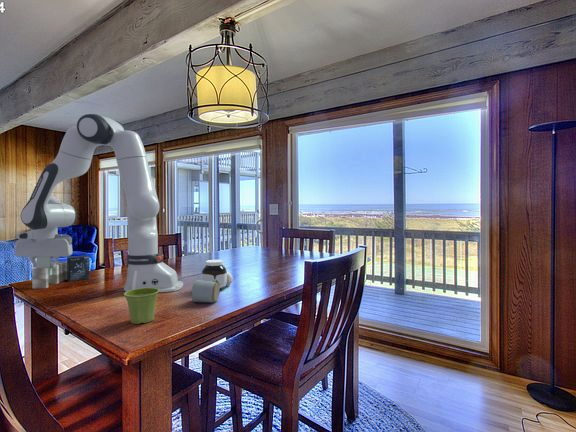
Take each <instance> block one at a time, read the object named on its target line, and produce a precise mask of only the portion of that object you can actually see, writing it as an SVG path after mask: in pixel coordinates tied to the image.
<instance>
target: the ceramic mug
mask: <svg viewBox="0 0 576 432" xmlns="http://www.w3.org/2000/svg"><path fill="white" fill-rule="evenodd" d="M220 292H221V291H220V287H219V284H218V283H216V282H212V281H203V280H201V279H196V280H195V281H194V282H193V284H192V288H191V300H192V302H194V303H206V304H207V303H209V304H212V303H216V302H217V301H218V299H219V298H220V297H219V296H220Z"/></svg>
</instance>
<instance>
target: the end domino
mask: <svg viewBox="0 0 576 432" xmlns="http://www.w3.org/2000/svg"><path fill="white" fill-rule="evenodd" d="M56 263H64V281H65V280H67V261H57V262H56ZM67 281H68V280H67Z"/></svg>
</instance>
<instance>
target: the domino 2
mask: <svg viewBox="0 0 576 432" xmlns="http://www.w3.org/2000/svg"><path fill="white" fill-rule="evenodd" d="M31 275H32V276H31V282H32V285H31V286H32V289H36V290H37V289H47V288H49V284H48V268H31Z"/></svg>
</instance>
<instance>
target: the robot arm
mask: <svg viewBox="0 0 576 432" xmlns="http://www.w3.org/2000/svg"><path fill="white" fill-rule="evenodd" d="M61 140H62V141H61V144H60V147H59V150H58V153H57V155H56V157H55V158H54V159H53V161H52V162H51V163H49V164H46V165H45V167H44V168H43V170H42V171H41V174H40V175H39V178H38V180H37V182H36V184H35V186H34V189H33V191H32V192H31V195H30V198H29V199H28V200H27V202H26V204H25V205H24V207H23V208H22V210H21V213H20V221H21V223H22V224H23V225H25V227H26V228H29V229H30V230H28V231H24V232H20V233H18V234H16V239H17V240H16V241H15V246H14V255H15V256H16V258H17V257H18V258H26V257H27V258H29V261H30V263H31V264H32V269H34V268H37V257H52V263H50V267H56V262H59V259H60V257H61V258H62V257H63V258H65V257H66V258H67V257H71V256H72V255H73V252H74V251H73V244H72V243H73V238H72V237H71V236H70V235H69V234H67V233H65V234H59V233H58V230H59V229H58V228H66V227H71V226H72V225H74V224H75V222H76V221H77V214H78V213H77V211H76V209H75V207H74V206H73V205H71V204H67V203H64V202H62V201H60V200H58V198H57V197H56V196H55V195H52V194H53V193H54V190H55V188H56V186H58V184H60V183H62V182H64V181H67V180H71V179H74V178H78V177H80V176H83V175H84V174H86V173H87V172H88V170H89V169H90V167H91V164H92V160H93V157H94V152H95V150H96V148H97V147H99V146H102V147H110V148H112V150H113V152H114V155H115V160H116V164H117V168H118V172H119V177H120V180H121V185H122V188H123V191H124V195H125V198H126V202H127V204H126V218H127V255H126V269H127V272H126V274H127V275H126V280H125V283H124V288H123V291H124V292H127V291H130V290H133V289H139V288H157V289H159V292H158V293H169V292H176V291H178V290H180V289H182V288H183V287H184V283H183V281H182V280H178V274H177V271H176V270H175V269H174V268H172V267H170V266H169V265H167V264H166V263H165V262H164V254H161V253H159V244H158V243H159V241H158V239H159V237H158V235H159V233H158V227H157V215H158V214H159V211H160V202H159V198H158V195H157V191H156V188H155V184H154V181H153V179H152V175H151V169H150V166H149V161H148V157H147V154H146V150H145V147H144V144H143V141H142V138H141V137H140V135H139V134H138V133H137V132H136V131H132V130H127V128H126V127H125V125H123V124H122V123H121V122H119V121H117V120H114V119H112V118H110V117H107V116H103V115H99V114H96V113H89V114H84V115H82V116H80V117H79V118H78V120H77V122H76V126H75V125H74V126H71V127H69V128H68V129H67V130H66V132H65V134H64V135H63V138H62V139H61Z"/></svg>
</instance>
